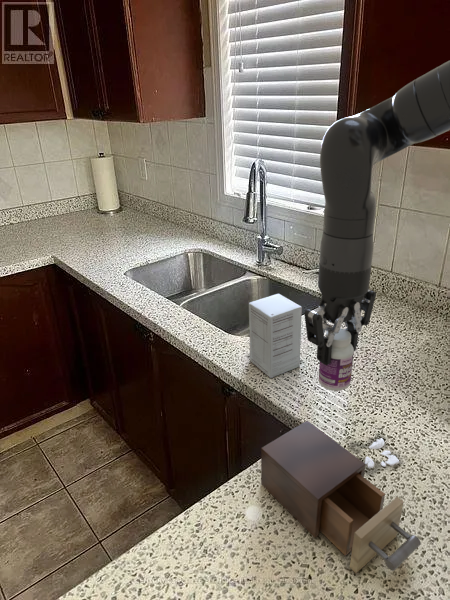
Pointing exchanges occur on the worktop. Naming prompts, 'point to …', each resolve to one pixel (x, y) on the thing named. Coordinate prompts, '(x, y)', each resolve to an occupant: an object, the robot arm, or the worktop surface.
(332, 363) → the pill bottle
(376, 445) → the white lumpy pieces
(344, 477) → the cabinet
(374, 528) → the drawer
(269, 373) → the supplement box
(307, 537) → the worktop surface
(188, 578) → the worktop surface
